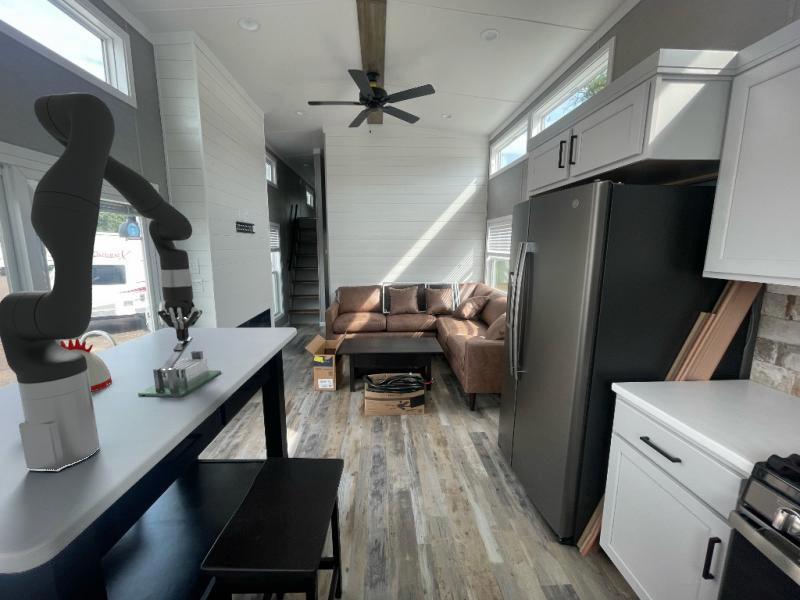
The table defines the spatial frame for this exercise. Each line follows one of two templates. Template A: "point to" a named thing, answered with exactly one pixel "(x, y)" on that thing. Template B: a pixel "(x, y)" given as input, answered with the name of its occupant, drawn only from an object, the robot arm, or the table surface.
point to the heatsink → (181, 377)
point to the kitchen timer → (91, 364)
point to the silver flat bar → (175, 355)
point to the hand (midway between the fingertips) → (183, 340)
